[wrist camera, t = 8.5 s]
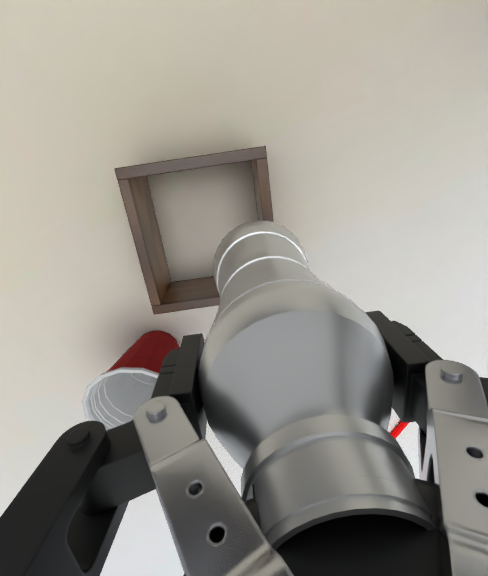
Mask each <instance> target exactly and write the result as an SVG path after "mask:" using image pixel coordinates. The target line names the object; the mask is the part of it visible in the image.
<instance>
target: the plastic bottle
mask: <svg viewBox="0 0 488 576" xmlns="http://www.w3.org/2000/svg"><path fill="white" fill-rule="evenodd" d="M213 273H214V278H215V282H216V287H217V290H218V292H219V295H220V304H219V309H218V313H217V315H216V318H215V320H214V322H213V325H212V327H211V329H210V332H209V334H208V336H207V339H206V341H205V344H204V348H203V352H202V355H201V359H200V365H199V371H198V384H199V392H200V397H201V400H202V404H203V407H204V411H205V414H206V417H207V421H208V424H209V426H210V427H211V429H212V431H213V433H214V434H215V436H216V438H217V439H218V440H219V442H220V443H221V444H222V445H223V447H224V448H225V449H226V450H227V452H228V453H229V454H230V456H231V457H232V458H233V459H234V460H235V461H236V462H237V463H238V464H239V465H240V466H241V467H242V468H243V469H244V470H243V473H242V477H241V498H242V500H243V501H244V502H245V501H246V500H249V499H251V498H253V489H252V484H254V490H255V501H256V502H257V504H258V508H259V515H260V525H261V531H262V533H263V535H264V536H265V538H266V540H267V541H268V543H269V544H270V546H271V547H272V548H273V549H274V550H276V549H277V548H278V547H279V546H280V545H281V544H282V543H284V542H285V541H286V540H288V539H289V538H291V537H292V536H294V535H295V534H297V533H298V532H301V531H303V530H305V529H307V528H309V527H311V526H313V525H315V524H319V523H322V522H325V521H328V520H331V519H334V518H340V517H345V516H351V515H362V514H380V515H390V516H396V517H400V518H403V519H407V520H411V521H413V522H415V523H417V524H419V525H421V526H423V527H424V528H426V529H427V530H434V529H437V527H436V526H435V524H434V522H433V521H432V519H431V518H430V516H433V515H432V513H431V511H430V510H429V508H428V506H427V504H426V503H425V501H424V499H423V497H422V496H421V494H420V492H419V490H418V488H417V486H416V484H415V481H414V480H413V478H415V476H414V472H413V469H412V466H411V464H410V462H409V461H408V459H407V457H406V456H405V454H404V452H403V451H402V449H401V447H400V446H399V444H398V442H397V441H396V439H395V438H394V437H393V436H392V435H391V434H390V433H389V432H388V431H387V429H388V425H389V420H390V416H391V409H392V400H393V391H394V374H393V370H392V366H391V362H390V358H389V355H388V352H387V349H386V345H385V342H384V339H383V337H382V335H381V334H380V332H379V330H378V328H377V326H376V324H375V323H374V322H373V321H372V320H371V319H370V318H369V316H368V315H367V314H366V313H365V312H364V311H363V310H362V309H360V308H359V307H358V306H357V305H356V304H355V303H354V302H352V301H351V300H350V299H348V298H347V297H345V296H344V295H343V294H341V293H340V292H338V291H336V290H335V289H333V288H332V287H330V286H328V285H327V284H325V283H324V282H322V281H321V280H319V279H318V278H317V277H316V276H315V275H314V274H313V273H312V272H311V271H310V269H309V267H308V262H307V259H306V255H305V253H304V250H303V247H302V245H301V244H300V242H299V240H298V239H297V237H296V236H295V235H294V234H293V233H292V232H291V231H290V230H288V229H287V228H285V227H284V226H282V225H280V224H277V223H275V222H270V221H251V222H246V223H244V224H242V225H239V226H238V227H236V228H235V229H233V230H232V231H230V232H229V233H228V234H227V235H226V237H225V238H224V239H223V240H222V242H221V243H220V245H219V246H218V249H217V251H216V254H215V257H214V263H213Z"/></svg>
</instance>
